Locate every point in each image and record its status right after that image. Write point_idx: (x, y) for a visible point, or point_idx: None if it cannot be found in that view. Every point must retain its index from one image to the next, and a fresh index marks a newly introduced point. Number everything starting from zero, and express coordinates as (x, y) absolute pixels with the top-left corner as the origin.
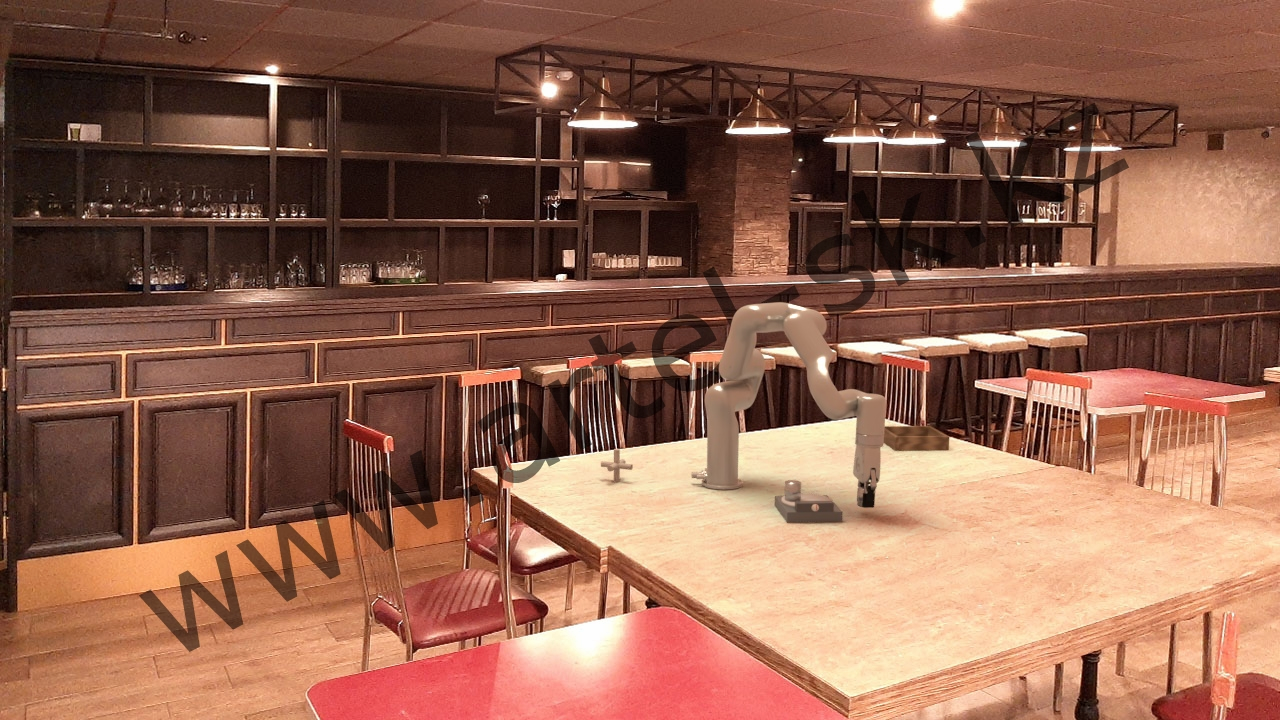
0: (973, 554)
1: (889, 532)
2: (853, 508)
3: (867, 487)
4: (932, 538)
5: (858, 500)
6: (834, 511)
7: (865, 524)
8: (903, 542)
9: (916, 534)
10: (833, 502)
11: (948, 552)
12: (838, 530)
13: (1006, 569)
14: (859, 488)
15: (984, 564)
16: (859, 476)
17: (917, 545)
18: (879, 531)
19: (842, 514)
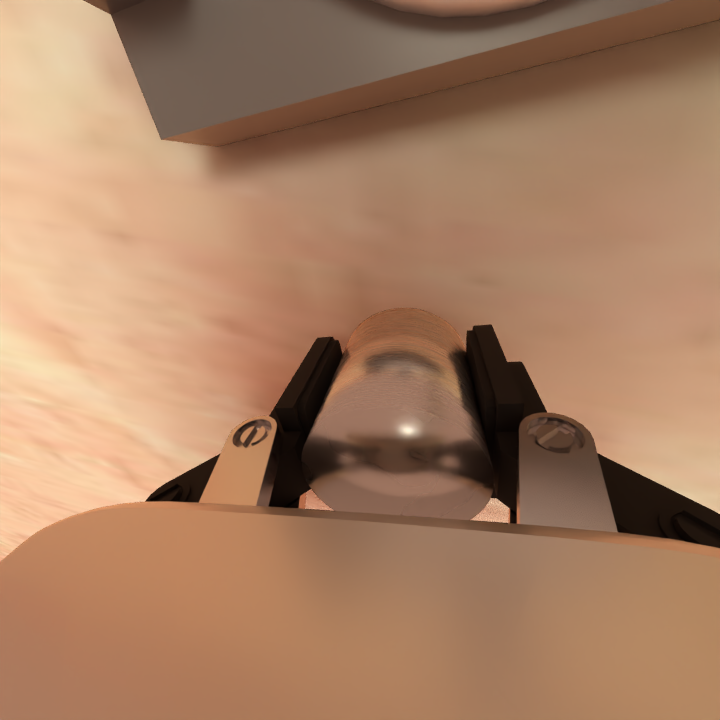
0: (62, 517)
1: (137, 382)
2: (590, 283)
3: (409, 491)
4: (143, 483)
5: (377, 331)
6: (129, 31)
7: (217, 301)
8: (41, 399)
9: (162, 458)
10: (518, 35)
11: (36, 480)
12: (5, 93)
13: (6, 531)
14: (351, 410)
15: (5, 512)
16: (111, 612)
17: (40, 430)
18: (129, 346)
19: (177, 140)
